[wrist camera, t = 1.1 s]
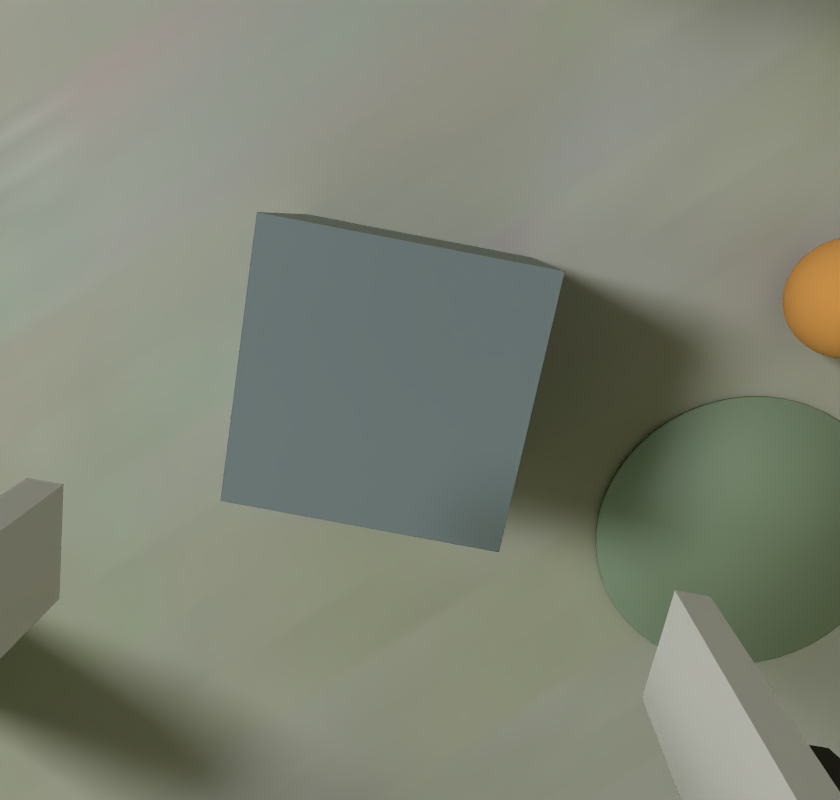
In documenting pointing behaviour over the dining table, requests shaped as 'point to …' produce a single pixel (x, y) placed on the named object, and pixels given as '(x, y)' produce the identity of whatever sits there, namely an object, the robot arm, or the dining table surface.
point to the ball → (816, 299)
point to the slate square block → (386, 378)
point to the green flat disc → (730, 522)
